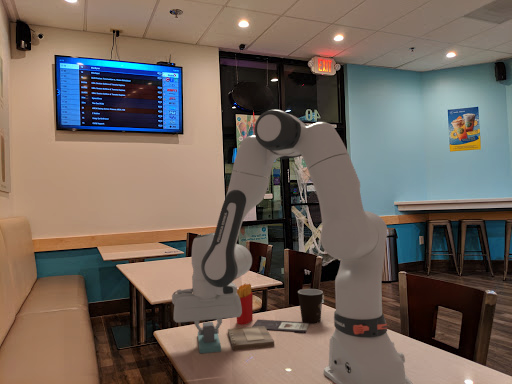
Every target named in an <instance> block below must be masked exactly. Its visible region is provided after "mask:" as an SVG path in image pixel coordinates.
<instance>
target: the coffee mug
mask: <svg viewBox="0 0 512 384" xmlns="http://www.w3.org/2000/svg"><path fill="white" fill-rule="evenodd" d="M297 294H298V295H297V296H298V300H299V301H298V302H299V308H300V316H301V322H309V325H313V324H315V325H316V324H319V323H320V322H322V321H321V320H322V319H321V318H322V308H323V307H322V306H323V297H324V292H323V290H320V289H316V288H303V289H299V290H297Z"/></svg>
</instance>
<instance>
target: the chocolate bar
mask: <svg viewBox="0 0 512 384" xmlns="http://www.w3.org/2000/svg"><path fill="white" fill-rule="evenodd" d="M309 325H310V324H309V322H302V321H287V320H273V319H272V320H271V319H257V320H256V321H255V322H254V324H253V325H252V326H251V327H256V326H265V328H266V329H267V331H274V332H275V331H276V332H290V333H295V334H306V333H307V331H308V328H309Z"/></svg>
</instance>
